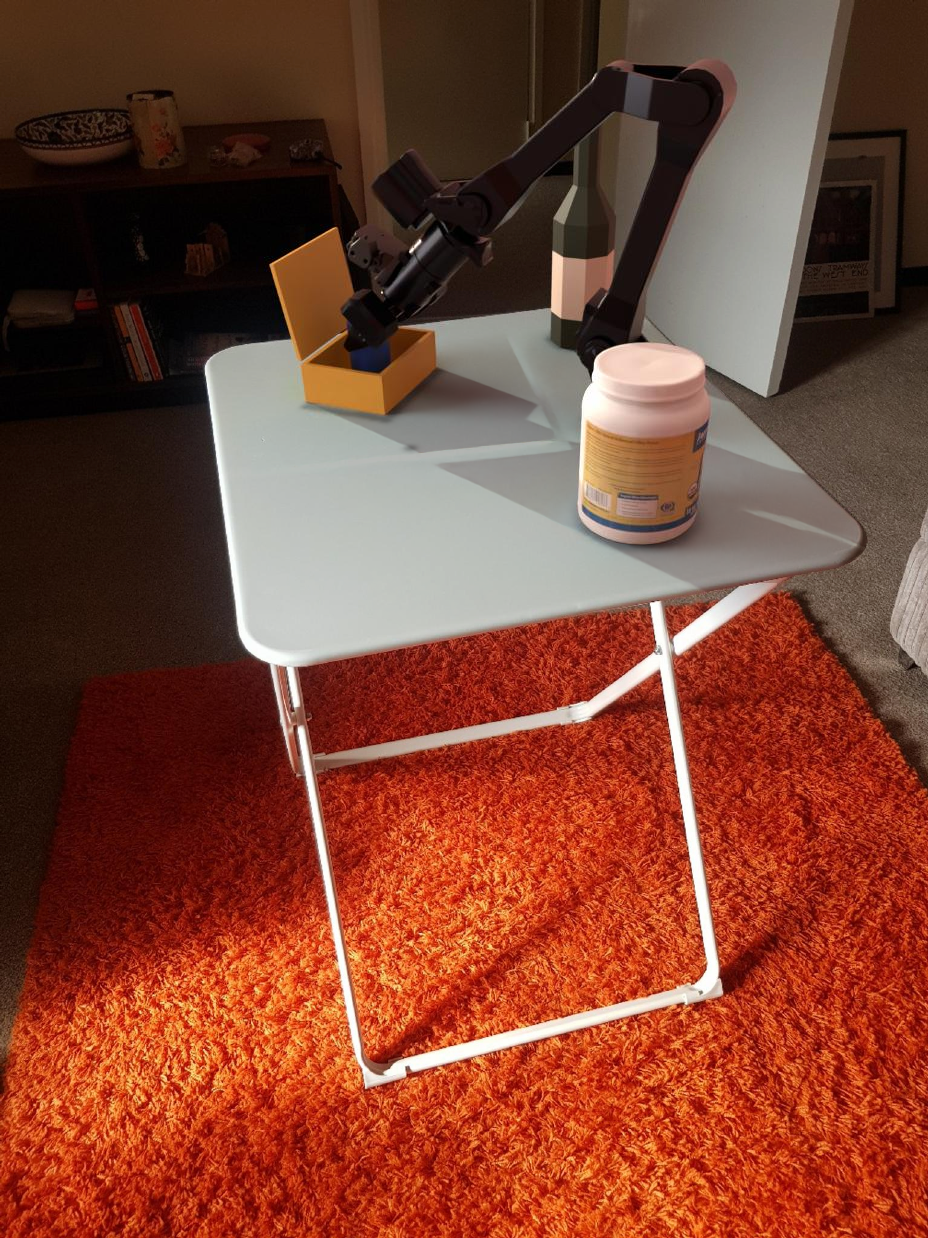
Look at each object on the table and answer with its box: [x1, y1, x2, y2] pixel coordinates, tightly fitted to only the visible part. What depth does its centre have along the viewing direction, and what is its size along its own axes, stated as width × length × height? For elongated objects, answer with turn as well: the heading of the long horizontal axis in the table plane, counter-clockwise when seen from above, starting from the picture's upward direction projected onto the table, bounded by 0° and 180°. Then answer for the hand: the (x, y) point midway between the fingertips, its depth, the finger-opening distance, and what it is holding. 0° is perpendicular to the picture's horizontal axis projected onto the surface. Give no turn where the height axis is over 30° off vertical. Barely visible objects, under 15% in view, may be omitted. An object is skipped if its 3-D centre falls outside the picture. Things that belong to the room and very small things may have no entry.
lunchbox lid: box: [269, 227, 355, 362], centre depth 124 cm, size 12×15×4 cm
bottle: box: [346, 290, 391, 374], centre depth 124 cm, size 5×5×12 cm
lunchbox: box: [300, 325, 438, 416], centre depth 127 cm, size 11×15×6 cm
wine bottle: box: [550, 123, 617, 351], centre depth 130 cm, size 8×8×30 cm
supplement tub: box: [577, 342, 711, 545], centre depth 96 cm, size 12×12×17 cm
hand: (359, 338), depth 125 cm, fingers open, 7 cm apart
